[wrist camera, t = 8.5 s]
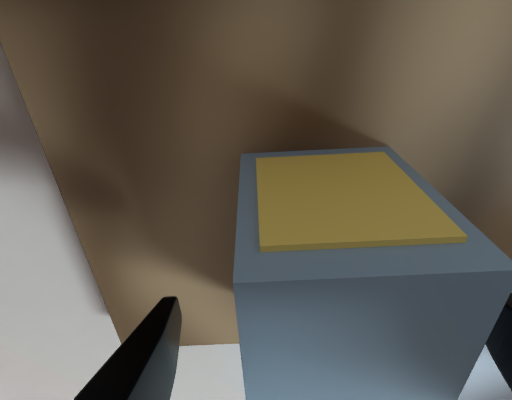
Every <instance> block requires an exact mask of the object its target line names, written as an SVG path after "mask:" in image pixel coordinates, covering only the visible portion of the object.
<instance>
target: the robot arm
mask: <svg viewBox="0 0 512 400" xmlns="http://www.w3.org/2000/svg"><path fill="white" fill-rule="evenodd" d="M181 325H182V313H181V309H180V305H179V301H178V298H177V297H176V296H166V297H163V298H162V299H161V300H160V301H159V302H158V303H157V304H156V305H155V307H154V308H153V309H152V310H151V311H150V312H149V313H148V315H147V316H146V317H145V318H144V319H143V320H142V321H141V323H140V324H139V325H138V326H137V327H136V328H135V329H134V331H133V332H132V333H131V334H130V335H129V336H128V337H127V339H126V340H125V341H124V342H123V343H122V344H121V345H120V347H119V348H118V349H117V350H116V351H115V352H114V353H113V355H112V356H111V357H110V358H109V359H108V360H107V361H106V363H105V364H104V365H103V366H102V367H101V368H100V369H99V371H98V372H97V373H96V374H95V375H94V376H93V377H92V379H91V380H90V381H89V382H88V383H87V384H86V385H85V387H84V388H83V389H82V390H81V391H80V392H79V393H78V395H77V396H76V397H75V398H74V400H170V396H171V392H172V388H173V383H174V379H175V374H176V367H177V359H178V351H179V342H180V334H181ZM485 344H486V346H487V348H488V350H489V352H490V354H491V356H492V358H493V360H494V362H495V364H496V365H497V367H498V369H499V371H500V372H501V374H502V376H503V377H504V379H505V381H506V382H507V384H508V386H509V387H510V389H511V391H512V293H510V295H509V297H508V299H507V301H506V303H505V305H504V307H503V309H502V311H501V313H500V315H499V317H498V319H497V321H496V323H495V325H494V327H493V329H492V331H491V333H490V335H489V337H488V339H487V341H486V343H485Z"/></svg>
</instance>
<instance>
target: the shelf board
mask: <svg viewBox="0 0 512 400" xmlns="http://www.w3.org/2000/svg"><path fill="white" fill-rule="evenodd" d="M0 43H1V45H2V48H3V50H4V53H5V55H6V58H7V60H8V63H9V65H10V68H11V70H12V73H13V75H14V78H15V80H16V83H17V85H18V88H19V90H20V93H21V95H22V98H23V100H24V103H25V105H26V108H27V110H28V113H29V115H30V118H31V120H32V123H33V125H34V128H35V130H36V133H37V135H38V137H39V140H40V142H41V145H42V147H43V150H44V152H45V155H46V157H47V160H48V162H49V165H50V167H51V170H52V172H53V175H54V177H55V180H56V182H57V185H58V187H59V190H60V192H61V195H62V197H63V200H64V202H65V205H66V207H67V210H68V212H69V215H70V217H71V220H72V222H73V225H74V227H75V230H76V232H77V235H78V237H79V240H80V242H81V245H82V247H83V249H84V252H85V254H86V257H87V259H88V262H89V264H90V267H91V269H92V272H93V274H94V277H95V279H96V282H97V284H98V287H99V289H100V292H101V294H102V297H103V299H104V302H105V304H106V307H107V309H108V312H109V314H110V317H111V319H112V322H113V324H114V327H115V329H116V332H117V334H118V337H119V339H120V342H121V344H122V343H123V342H124V341H125V340H126V339H127V337H128V336H129V335H130V334H131V333H132V332H133V331H134V329H135V328H136V327H137V326H138V325H139V324H140V323H141V321H142V320H143V319H144V318H145V317H146V316H147V315H148V313H149V312H150V311H151V310H152V309H153V308H154V307H155V305H156V304H157V303H158V302H159V301H160V300H161V299H162V298H163V297H166V296H176V297H177V298H178V301H179V305H180V309H181V313H182V325H181V334H180V342H179V346H189V345H213V344H237V343H239V334H238V325H237V316H236V308H235V299H234V290H233V271H234V255H235V239H236V224H237V208H238V192H239V176H240V160H241V154H246V153H266V152H286V151H306V150H326V149H346V148H366V147H385V146H389V147H391V148H392V149H393V150H394V151H395V152H396V153H397V154H398V155H399V156H400V157H401V158H402V159H403V160H405V161H406V162H407V163H408V164H409V165H410V166H411V167H412V168H413V169H414V170H415V171H416V172H417V173H419V174H420V175H421V176H422V177H423V178H424V179H425V180H426V181H427V182H428V183H429V184H430V185H431V186H433V187H434V188H435V189H436V190H437V191H438V192H439V193H440V194H441V195H442V196H443V197H444V198H445V199H447V200H448V201H449V202H450V203H451V204H452V205H453V206H454V207H455V208H456V209H457V210H458V211H459V212H461V213H462V214H463V215H464V216H465V217H466V218H467V219H468V220H469V221H470V222H471V223H472V224H473V225H474V226H476V227H477V228H478V229H479V230H480V231H481V232H482V233H483V234H484V235H485V236H486V237H487V238H488V239H490V240H491V241H492V242H493V243H494V244H495V245H496V246H497V247H498V248H499V249H500V250H501V251H502V252H504V253H505V254H506V255H507V256H508V257H509V258H510V259H511V260H512V0H0Z"/></svg>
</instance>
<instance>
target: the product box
mask: <svg viewBox="0 0 512 400" xmlns="http://www.w3.org/2000/svg"><path fill="white" fill-rule="evenodd" d="M233 290H234V299H235V308H236V316H237V325H238V334H239V343H240V352H241V360H242V369H243V378H244V387H245V396H246V400H457V399H458V397H459V395H460V393H461V391H462V389H463V387H464V385H465V383H466V381H467V379H468V377H469V375H470V373H471V371H472V369H473V367H474V365H475V363H476V361H477V359H478V357H479V355H480V353H481V351H482V349H483V347H484V345H485V343H486V341H487V339H488V337H489V335H490V333H491V331H492V329H493V327H494V325H495V323H496V321H497V319H498V317H499V315H500V313H501V311H502V309H503V307H504V305H505V303H506V301H507V299H508V297H509V295H510V293H511V291H512V260H511V259H510V258H509V257H508V256H507V255H506V254H505V253H504V252H502V251H501V250H500V249H499V248H498V247H497V246H496V245H495V244H494V243H493V242H492V241H491V240H490V239H488V238H487V237H486V236H485V235H484V234H483V233H482V232H481V231H480V230H479V229H478V228H477V227H476V226H474V225H473V224H472V223H471V222H470V221H469V220H468V219H467V218H466V217H465V216H464V215H463V214H462V213H461V212H459V211H458V210H457V209H456V208H455V207H454V206H453V205H452V204H451V203H450V202H449V201H448V200H447V199H445V198H444V197H443V196H442V195H441V194H440V193H439V192H438V191H437V190H436V189H435V188H434V187H433V186H431V185H430V184H429V183H428V182H427V181H426V180H425V179H424V178H423V177H422V176H421V175H420V174H419V173H417V172H416V171H415V170H414V169H413V168H412V167H411V166H410V165H409V164H408V163H407V162H406V161H405V160H403V159H402V158H401V157H400V156H399V155H398V154H397V153H396V152H395V151H394V150H393V149H392V148H391V147H389V146H385V147H366V148H346V149H326V150H306V151H286V152H266V153H246V154H241V160H240V176H239V192H238V208H237V224H236V239H235V255H234V271H233Z"/></svg>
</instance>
